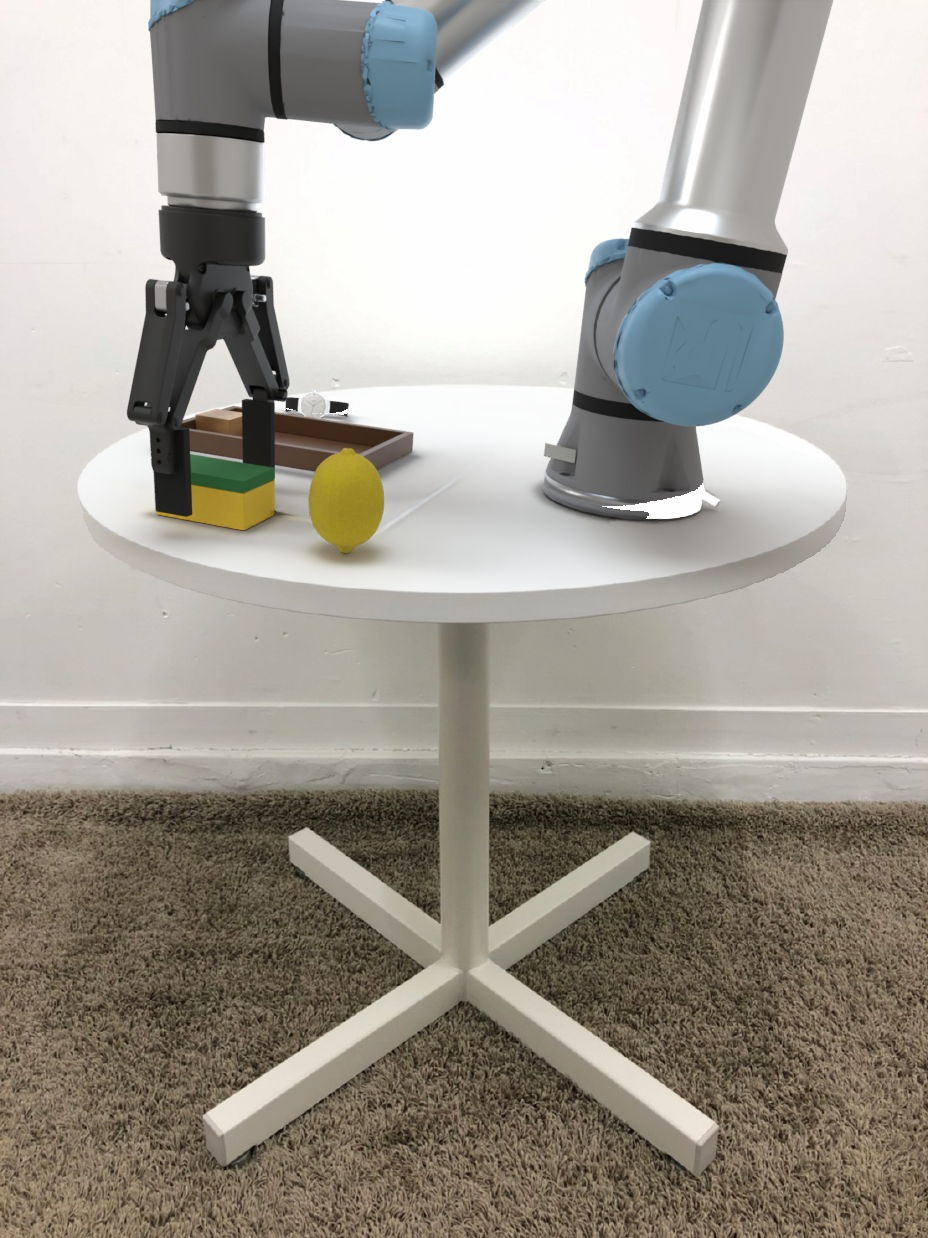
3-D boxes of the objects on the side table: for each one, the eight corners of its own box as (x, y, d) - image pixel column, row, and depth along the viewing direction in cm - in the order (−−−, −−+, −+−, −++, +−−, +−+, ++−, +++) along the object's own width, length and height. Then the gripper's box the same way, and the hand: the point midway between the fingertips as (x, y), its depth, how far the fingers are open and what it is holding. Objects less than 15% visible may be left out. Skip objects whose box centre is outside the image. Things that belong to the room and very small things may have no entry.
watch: (280, 419, 115) (280, 388, 114) (290, 412, 120) (290, 382, 118) (344, 425, 115) (345, 394, 114) (351, 417, 119) (352, 388, 118)
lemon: (305, 563, 70) (307, 455, 67) (310, 539, 75) (311, 437, 72) (382, 566, 71) (386, 459, 68) (381, 542, 76) (386, 441, 73)
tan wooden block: (249, 437, 103) (249, 413, 102) (229, 444, 99) (229, 419, 98) (216, 431, 104) (216, 408, 103) (195, 438, 100) (195, 414, 100)
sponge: (191, 500, 82) (189, 453, 81) (275, 514, 80) (275, 467, 79) (156, 514, 78) (153, 466, 76) (244, 530, 76) (243, 481, 74)
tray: (412, 456, 103) (413, 432, 102) (360, 484, 91) (361, 457, 90) (233, 428, 109) (233, 405, 108) (162, 451, 97) (160, 426, 96)
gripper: (251, 206, 82) (254, 457, 90) (53, 193, 60) (81, 524, 69) (332, 213, 80) (327, 469, 88) (157, 202, 58) (172, 542, 67)
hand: (219, 493), depth 78 cm, fingers open, 12 cm apart
